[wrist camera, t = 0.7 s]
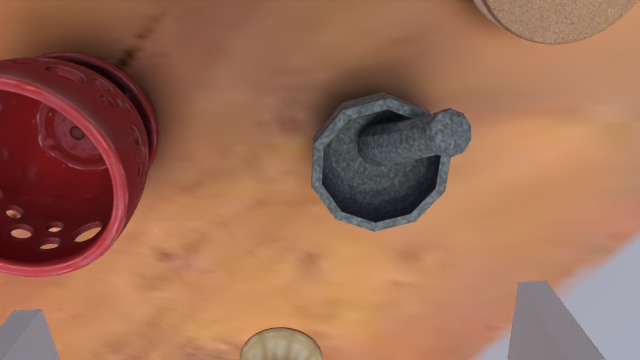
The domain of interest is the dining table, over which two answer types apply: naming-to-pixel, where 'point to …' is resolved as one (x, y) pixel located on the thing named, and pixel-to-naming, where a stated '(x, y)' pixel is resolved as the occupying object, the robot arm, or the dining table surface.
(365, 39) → the dining table surface
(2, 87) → the plant pot
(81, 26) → the dining table surface
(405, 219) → the mortar and pestle
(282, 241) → the dining table surface
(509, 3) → the lidded jar
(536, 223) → the dining table surface
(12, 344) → the robot arm
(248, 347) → the hand bell
